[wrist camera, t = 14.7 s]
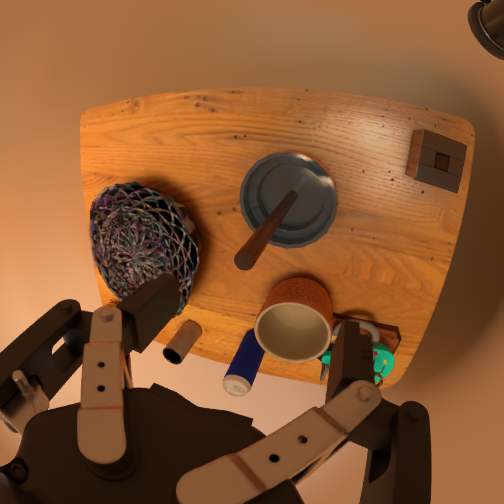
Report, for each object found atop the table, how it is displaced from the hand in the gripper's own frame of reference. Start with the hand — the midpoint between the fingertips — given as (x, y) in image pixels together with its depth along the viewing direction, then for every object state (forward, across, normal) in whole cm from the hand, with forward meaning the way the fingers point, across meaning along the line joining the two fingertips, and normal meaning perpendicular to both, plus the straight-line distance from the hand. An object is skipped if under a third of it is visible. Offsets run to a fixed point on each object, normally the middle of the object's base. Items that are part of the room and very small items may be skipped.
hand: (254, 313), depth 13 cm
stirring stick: (+34, +3, +2) cm, 35 cm away
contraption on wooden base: (+35, -15, +27) cm, 47 cm away
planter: (+35, -2, +21) cm, 41 cm away
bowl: (+35, +3, +2) cm, 35 cm away
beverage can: (+35, +5, +33) cm, 49 cm away
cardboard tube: (+35, +20, +36) cm, 54 cm away
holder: (+35, -18, -9) cm, 41 cm away
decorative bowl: (+35, +28, +16) cm, 48 cm away
